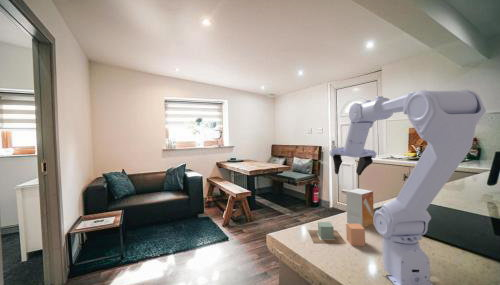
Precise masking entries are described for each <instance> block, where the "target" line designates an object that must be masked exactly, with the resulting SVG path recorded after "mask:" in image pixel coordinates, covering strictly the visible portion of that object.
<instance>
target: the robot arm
mask: <svg viewBox="0 0 500 285" xmlns="http://www.w3.org/2000/svg"><path fill="white" fill-rule="evenodd" d="M402 112H403V115H406V116H407V118H408V120H409V122H410V123H411V125H412V127H413V128H414V129H415V131H416V132H417V134H418V136H419V138H420V139H421V140H423V141H425V142H426V143H427V145H426V147H425V149H424V150H423V151H422V154H421V156H420V157H419V159H418V160H417V162H416V164H415V166H414V168H413V169H412V171H411V172H410V175H409V176H408V177H407V178H406V180H405V183H404V185H403V186H402V187H401V189H400V191H399V193H398V195H397V196H396V198H394V199H393V200H391V201H388V202H386V203H384V204H383V205H382V206H381V208H379V209H376V210H375V211H374V217H373V221H374V228H375V230H376V232H377V233H378V234H379V235H380V236H381V238H382V240H381V242H382V267H383V269H384V271H385V272H387V274H385V276H386V277H387V278H388V279H389V281H390V282H392V284H393V285H434V284H433V283H431V268H430V267H431V266H430V258H429V256H428V255H427V253H426V252H425V251H424V250H423V249H422V248H421V246H420V241H422V236H424V235H426V233H427V232H428V226H429V222H430V221H431V220H432V216H431V214H430V213H429V212H428V210H427V209H428V208H429V206H430V205H431V204H432V202H433V201H434V199H436V197H437V196H438V194H439V193H440V192H441V190H442V189H443V188H444V186H445V184H446V183H447V182H448V181H449V180H450V178H451V176H452V175H453V174H454V173H455V171H456V170H457V169H458V167H459V166H460V164H462V162H463V161H464V159H465V158H466V156H467V155H468V154H469V153H470V150H472V147H473V143H474V137H475V132H476V128H477V126H478V124H479V122H480V120H481V119H482V118H483V116H484V115H485V114H486V112H487V109H486V107H485V105H484V103H483V100H482V99H481V97H480V95H479V94H478V93H477V92H476V91H474V90H471V89H460V90H426V89H425V90H424V89H423V90H419V91H410V92H408V93H406V94H403V95H400V96H398V97H394V98H391V99H390V98H388V97H384V95H383V96H382V95H381V96H379V95H378V96H376V97H374V99H372V100H370V99H369V100H365V101H364V102H363V103H357V102H354V103H353V104H352V105H350V108H349V109H348V118H349V121H350V123H349V127H348V132H347V135H346V139H345V144H344V147H343V146H342V147H336V148H330V149H329V155H330V157H332V160H333V165H334V166H333V168H334V173H335V175H338V174H339V172H340V168H341V164H343V159H342V157H350V158H357V159H358V163H357V166H356V174H357V175H358V176H361V175H362V173H363V172H364V171H365V170H366V169H367V167H369V166H370V165H372V164H373V159H376V156H377V152H376V151H375V150H372V149H366V148H365V146H366V143H367V138H368V137H369V132H370V128H373V125H374V123H375V122H376V121H381V120H387V119H390V118H391V117H392V116H393V114H394V113H402Z"/></svg>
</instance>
